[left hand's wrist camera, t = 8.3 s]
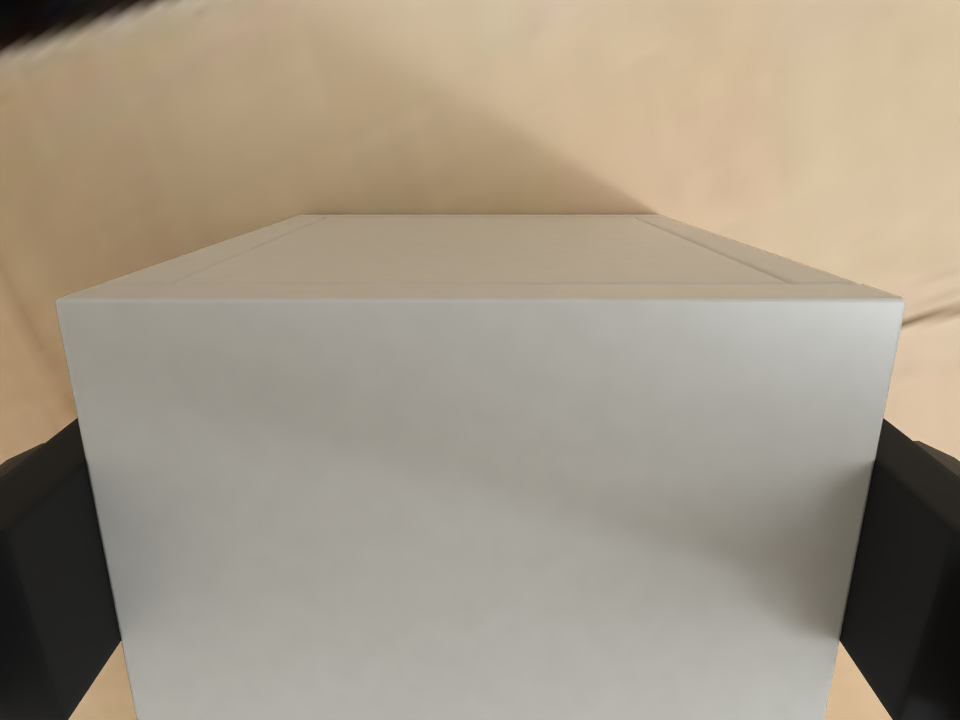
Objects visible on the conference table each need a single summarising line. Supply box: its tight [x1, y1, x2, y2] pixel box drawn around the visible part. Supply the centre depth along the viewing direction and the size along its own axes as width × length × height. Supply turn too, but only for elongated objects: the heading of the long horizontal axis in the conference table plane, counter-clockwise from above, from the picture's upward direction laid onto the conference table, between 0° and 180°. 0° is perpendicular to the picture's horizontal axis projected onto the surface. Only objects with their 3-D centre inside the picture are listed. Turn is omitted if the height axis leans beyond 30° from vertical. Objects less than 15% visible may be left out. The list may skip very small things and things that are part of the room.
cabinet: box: [55, 214, 906, 720], centre depth 16 cm, size 19×10×11 cm, turn 0°
